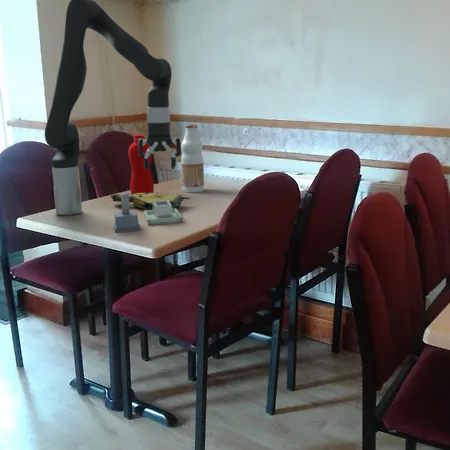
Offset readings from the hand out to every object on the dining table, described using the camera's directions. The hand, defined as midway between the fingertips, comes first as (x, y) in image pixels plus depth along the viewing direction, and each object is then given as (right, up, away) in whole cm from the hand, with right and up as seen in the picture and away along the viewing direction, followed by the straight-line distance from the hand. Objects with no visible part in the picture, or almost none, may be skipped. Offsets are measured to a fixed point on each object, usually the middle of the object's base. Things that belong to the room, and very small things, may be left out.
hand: (160, 168), depth 195 cm
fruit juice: (+9, -5, +51) cm, 52 cm away
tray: (0, -17, +5) cm, 18 cm away
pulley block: (-7, -12, +22) cm, 27 cm away
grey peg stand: (-10, -20, -7) cm, 24 cm away
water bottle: (-12, -6, +46) cm, 47 cm away
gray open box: (0, -16, +4) cm, 17 cm away
